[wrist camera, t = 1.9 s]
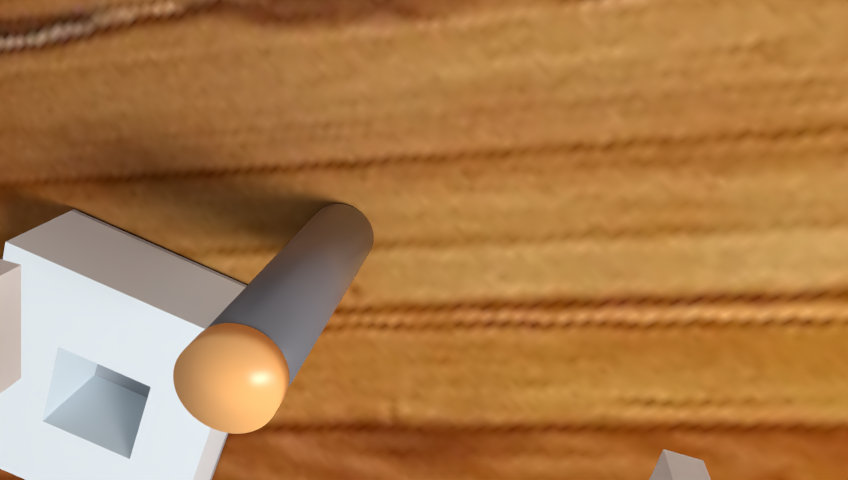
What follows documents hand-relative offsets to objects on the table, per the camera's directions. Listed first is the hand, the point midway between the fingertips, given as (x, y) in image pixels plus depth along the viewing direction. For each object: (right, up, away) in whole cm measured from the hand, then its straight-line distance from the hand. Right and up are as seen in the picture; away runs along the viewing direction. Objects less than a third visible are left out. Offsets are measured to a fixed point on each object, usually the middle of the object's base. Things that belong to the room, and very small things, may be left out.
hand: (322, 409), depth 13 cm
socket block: (-14, -3, +25) cm, 29 cm away
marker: (-2, +4, +20) cm, 21 cm away
